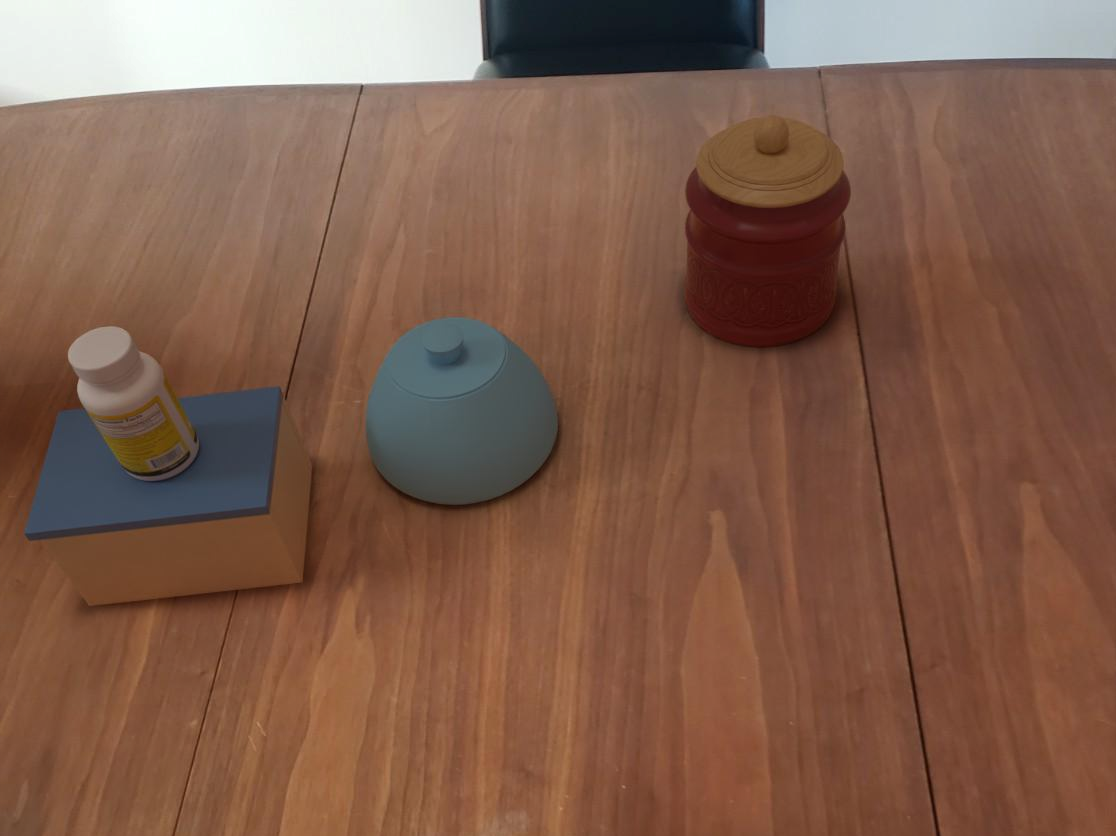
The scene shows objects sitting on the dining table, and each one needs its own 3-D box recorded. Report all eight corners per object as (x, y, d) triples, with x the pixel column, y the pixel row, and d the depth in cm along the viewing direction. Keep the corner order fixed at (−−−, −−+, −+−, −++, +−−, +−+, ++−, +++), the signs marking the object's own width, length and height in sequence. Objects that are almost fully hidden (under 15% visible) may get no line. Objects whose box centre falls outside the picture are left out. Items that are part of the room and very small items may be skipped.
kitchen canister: (727, 377, 90) (737, 188, 76) (659, 288, 97) (656, 101, 83) (862, 328, 92) (896, 136, 78) (786, 245, 100) (804, 56, 85)
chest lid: (29, 541, 72) (23, 533, 72) (63, 418, 79) (58, 410, 78) (269, 514, 72) (266, 506, 72) (283, 393, 79) (279, 385, 78)
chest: (96, 615, 79) (38, 540, 72) (122, 497, 86) (71, 417, 79) (306, 591, 79) (270, 514, 72) (316, 475, 86) (283, 394, 79)
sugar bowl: (436, 364, 93) (409, 251, 84) (591, 412, 89) (581, 298, 79) (338, 484, 85) (296, 374, 76) (503, 543, 81) (480, 434, 72)
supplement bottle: (143, 423, 77) (82, 314, 69) (213, 431, 76) (158, 321, 68) (109, 479, 74) (39, 372, 66) (180, 488, 73) (119, 380, 65)
